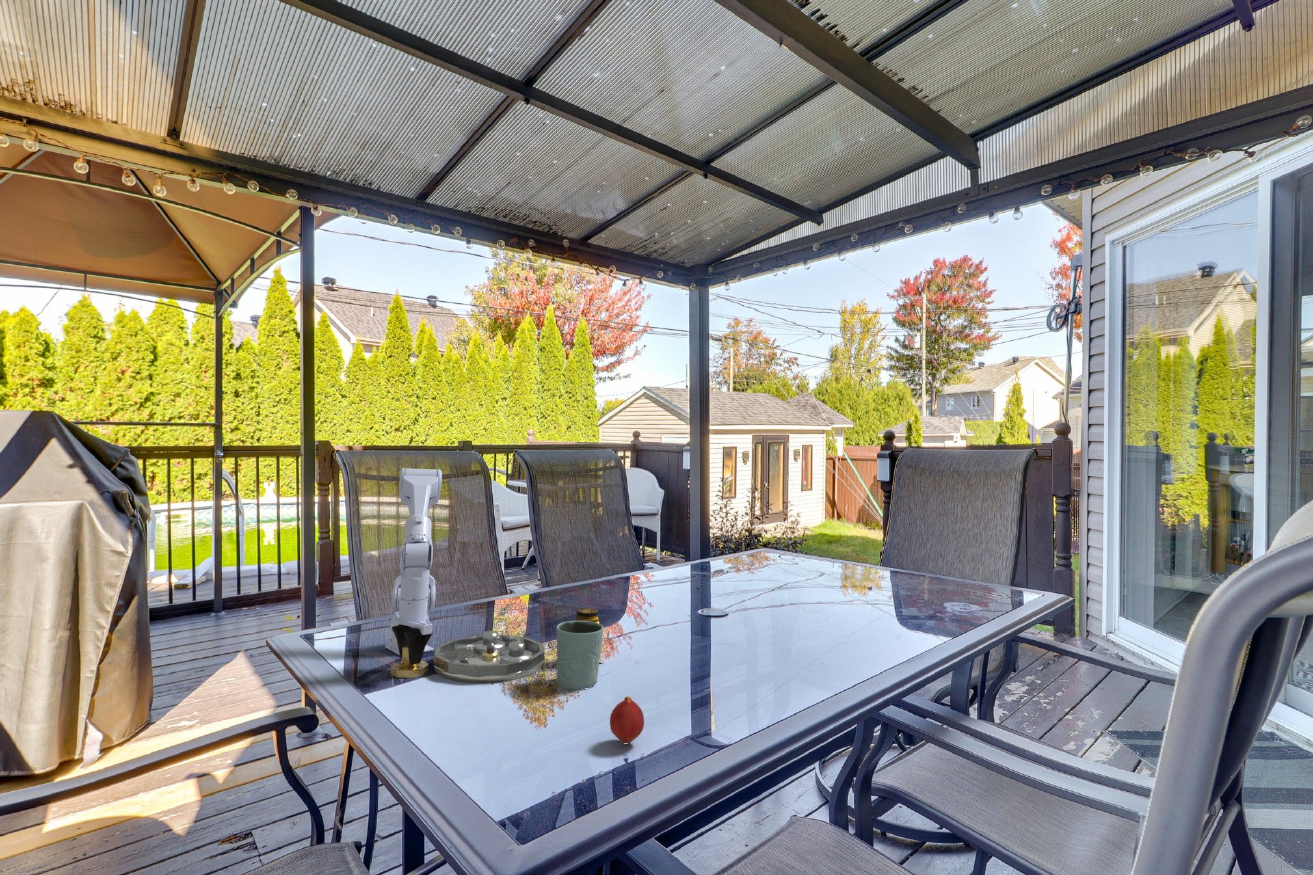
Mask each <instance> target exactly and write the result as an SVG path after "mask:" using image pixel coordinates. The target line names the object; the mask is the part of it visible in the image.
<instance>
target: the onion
mask: <svg viewBox="0 0 1313 875" xmlns="http://www.w3.org/2000/svg"><path fill="white" fill-rule="evenodd" d="M609 726H610V731H611V733H612V734H613V735H614V736H615V738H617V739H618V740H619V741H620V742H621V743H622V742H623V743H629V744H630V743H632V742H633V741H634V740H635V739H637V738H638V737H639V736H640V735H641V733H642V732H643V730H644V726H645V716H644V712H643V710H642V708H641V707H640V706H639V704H637V703H636V702H635V701H634V700H633V699H632V697H631V696H630V695H627V696H625V697H624V698H623V700H622V701H620V702H619V703H617V704H616V706H615V707H614V708H613V709H612V711H611V713H610V717H609ZM623 743H622V744H623Z"/></svg>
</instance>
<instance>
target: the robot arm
mask: <svg viewBox="0 0 1313 875" xmlns="http://www.w3.org/2000/svg"><path fill="white" fill-rule="evenodd" d="M399 471H400V472H399V485H398V486H399V487H398V492H399V499H400V503H402V504H404V505H405V506H407V509H408V512H409V517H408V518H407V519H406V520H405V523H404V535H403V544H401V547H400V561H399V563H400V564H399V566H400V575H399V576H398V577H396V578H395V579H394V581H393V585H392V586H393V587H392V592H391V610H390V611H392V612H393V616H392V618H391V619H390V626H389V642H388V644H386V645H385V648H386V649H387V650H390V651H391V652H392V653H395V654H396V655H399V657H400V660H402V651H403V646H405V645H408V652H409V663H410V665H414V664H419V663H420V662H421V661H422V659H423V656H424V653H427V652H432V651H434V648H433V647H431V646H430V645H428V642H429V641H430V638H431V637H432V636H433V633H434V631H433V624H432V623H431V622H430V620H429V614H430V612H432V611H434V609H435V607H436V606H435V605H436V593H437V591H436V589H437V588H436V580H435V577H433V576H432V575H431V574H430V570H431V569H432V566H433V557H434V556H433V555H434V554H433V553H434V547H433V539H432V525H433V524H432V521H431V519H430V518H429V517H428V514H429V512H430V509H431V507H432V506H433V505H436V504H439V500H440V497H441V491H442V483H443V471H442V470H441V468H437V469H435V468H434V469H430V468H429V469H428V468H406V467H402V468H401V469H400V470H399ZM428 563H429V564H428ZM428 565H429V567H428Z"/></svg>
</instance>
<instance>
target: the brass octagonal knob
mask: <svg viewBox="0 0 1313 875" xmlns="http://www.w3.org/2000/svg"><path fill="white" fill-rule="evenodd" d="M428 671H429V663H428V662H426V661H424V660H421V662H420V663H419V664H414V665H410V663H409V652H408V645H405V646H403V651H402V659H401V661H398V662H395V663H394V664H393V665H392V666H391V667H390V675H392V676H394V677H395V678H401V679H412V678H417V677H422V676H425V674H426V673H428Z"/></svg>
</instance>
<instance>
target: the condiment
mask: <svg viewBox="0 0 1313 875" xmlns="http://www.w3.org/2000/svg"><path fill="white" fill-rule="evenodd" d="M575 621H590V622H595V623H599V624H600V621H599V611H598V610H597V609H595V608H586V607H585V608H580V609H577V611H576V616H575Z"/></svg>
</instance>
